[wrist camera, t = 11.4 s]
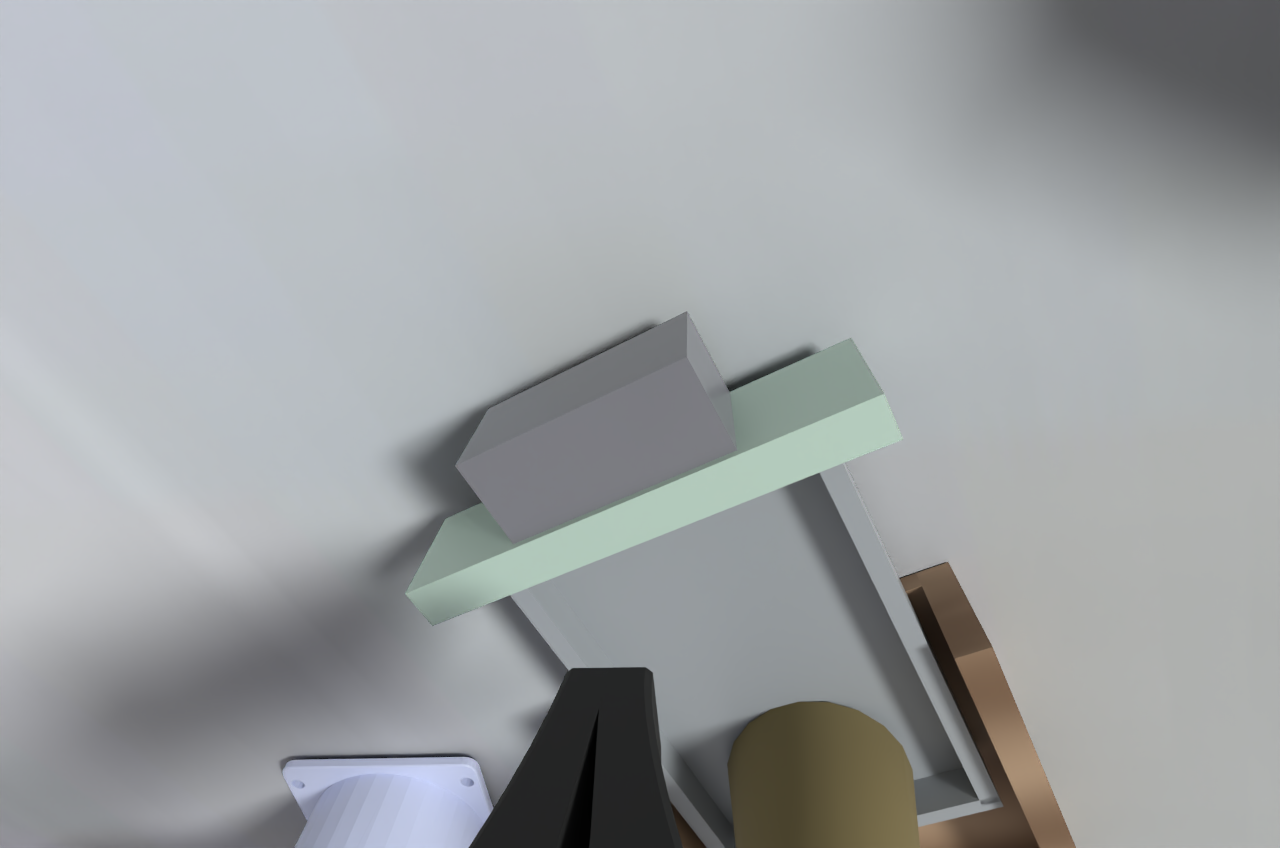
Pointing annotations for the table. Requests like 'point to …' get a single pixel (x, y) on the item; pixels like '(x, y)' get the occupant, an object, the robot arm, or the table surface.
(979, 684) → the caddy
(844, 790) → the cork
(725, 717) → the drawer
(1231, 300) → the table surface
